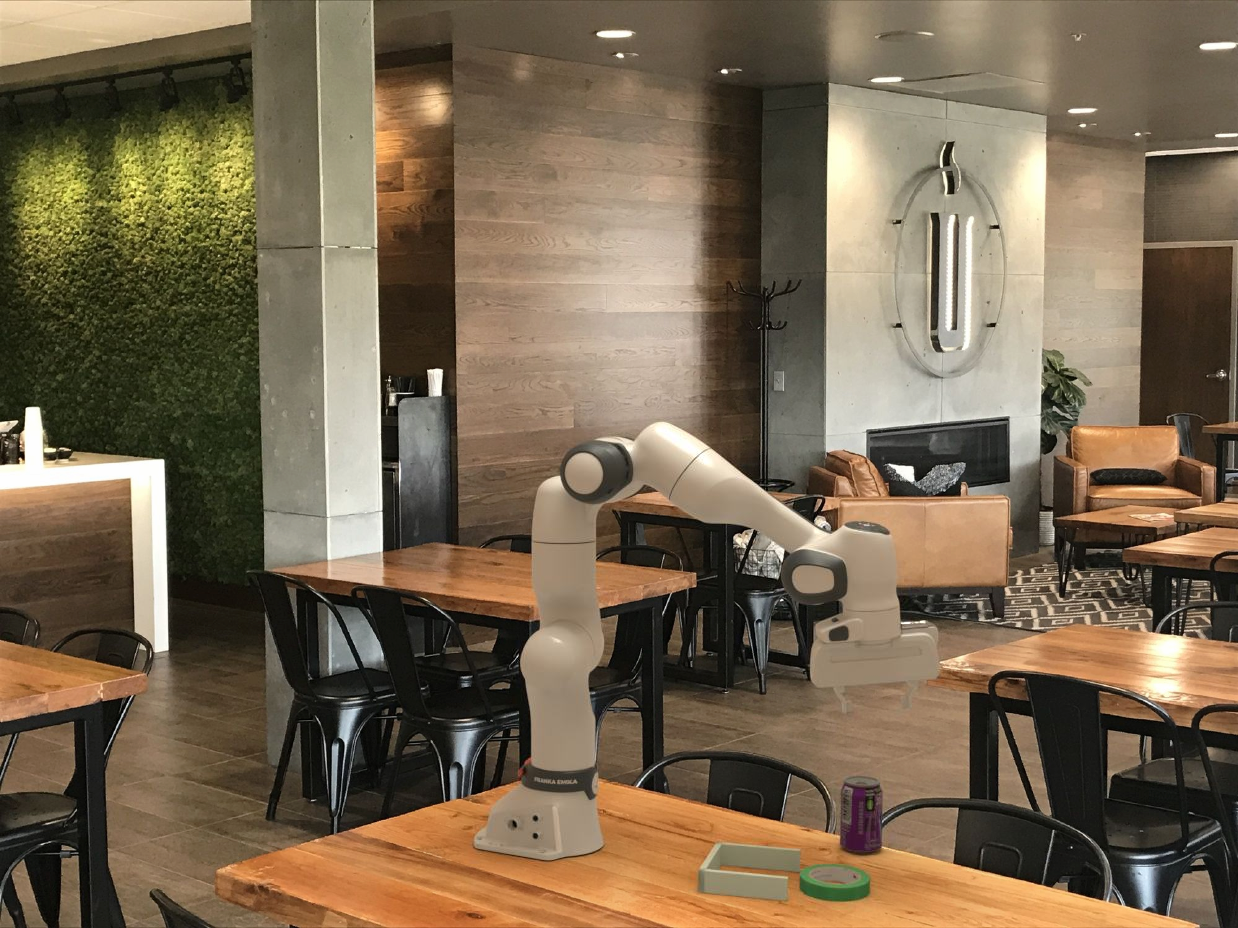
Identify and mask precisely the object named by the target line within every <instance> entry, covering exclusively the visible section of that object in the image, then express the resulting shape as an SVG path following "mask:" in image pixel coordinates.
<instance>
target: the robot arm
mask: <svg viewBox="0 0 1238 928" xmlns="http://www.w3.org/2000/svg"><path fill="white" fill-rule="evenodd" d="M559 469H560V470H559V475H555V476H552V477H550V478H548V479H545V480H544V481H543V482H542V483H541V484H540V485H539V487H538V489H537V490H536V496H535V501H534V508H533V515H532V525H531V587H532V590H533V593H534V594H535V599H536V604H537V610H538V615H539V630H537V631H535V632H534V633H533V634H532V635H531V636H529V638H528V640H527V641H526V643H525V644H524V647H523V650H522V652H521V654H520V661H519V663H520V664H519V665H520V671H521V674H522V676H523V678H524V680H525V688H526V693H527V699H528V706H529V711H530V724H531V725H530V727H531V728H530V729H531V730H530V731H531V735H530V736H531V743H530V744H531V745H530V746H531V748H530V750H531V753H530V754H531V755H530V757H529V758H528V759H526V760H525V761H524V764H523V765H522V766H521V767H520V769H519V770H518V771H517V772H518V774H517V775H518V776H517V777H518V778H520V781H521V782H520V783H519V784H518V785H516V786H515V787H514V788H512V789H511V790H509V791H508V792H507V793H506V794H504V795H503V796H502V797H501V798H500V799H498V800H497V801H496V802H494V803H493V805H492V807H491V809H490V811H489V814H488V818H487V823H486V826H485V827H483V828H481V829H480V830H479V831H478V832H477V833H476V834H475V835H474V837H473V847H474V848H475V849H478V850H483V851H489V852H495V853H500V854H506V855H514V856H518V857H519V856H520V857H526V858H531V859H535V860H543V861H553V860H557V859H558V860H559V859H562V858H565V857H567V858H568V857H574V856H575V857H576V856H580V855H581V856H582V855H586V854H590V853H594V852H596V851H598V850H599V849H601V848H602V847H603V846H604V845H605V840H604V837H603V835H602V834H603V833H602V830H601V826H600V819H599V813H598V803H597V796H598V792H599V772H598V771H599V769H598V762H596V716H595V713H594V712H593V707H592V702H591V696H590V688H589V677H590V674H591V672H592V671H594V669H596V668H597V666H598V665H599V664H600V661H601V659H602V657H603V654H604V649H605V637H604V633H603V629H602V618H601V610H600V605H599V599H598V591H597V516H598V513H599V511H600V509H601V507H602V506H604V505H605V504H608V505H610V504H612V503H618V502H620V501H623V500H626V499H631V498H632V497H634V496H637V495H639V494H640V493H641V492H643V490H645V489H646V488H647V487H651V488H652V489H654V490H656V491H657V492H658V493H659V494H661V495H662V496H663V497H664V498H666V499H667V500H668V501H669V502H671V503H672V504H673V505H674V506H675V507H677V508H678V509H680V510H681V511H682V512H683V513H685V514H687V515H689V516H691V517H692V518H694V519H695V520H698V521H701V522H703V523H706V524H730V525H736V526H743V527H747V528H750V529H753V530H755V531H756V532H758V533H760V534H761V535H763V536H764V537H766V538H767V539H769V540H770V541H772V542H773V543H775V544H776V545H778V546H779V547H780V548H782V549H783V550H784V551H786V552H787V553H789V555H788V556H787V557H786V558H784V559H785V560H784V561H783V563H782V566H781V570H780V577H781V583H782V586H783V588H784V590H785V592H786V593H787V595H788V596H789V597H790V598H791V599H792V600H793V601H794V602H797V603H799V604H802V605H805V606H806V605H808V606H817V605H822V604H826V603H831V602H835V601H840V602H841V603H842V612H841V613H838V614H836V615H833V616H831V617H828V618H826V619H824V620H821V621H819V622H817V623H816V624H815V625H814V626H815V634H816V637H817V638H816V639H815V640H814V642H813V643H812V646H811V649H810V661H809V671H810V672H809V674H810V675H809V676H810V677H809V678H810V681H811V683H812V684H813V685H814V686H815V687H817V689H824V688H833V692H834V693H835V695H836V696H837V698H838V699H839V701H840V702H841V712H842V714H853V712H854V711H853V707H854V706H853V701H852V700H851V699H846V698H845V697H844V695H843V694H844V693H845V687H849V686H850V687H852V686H862V685H873V684H875V685H878V684H888V683H889V684H890V683H902V682H906V684H907V686H908V689H907V691H906V693H905V695H900V696H899V697H900V699H899V700H900V701H901V702H900V707H901V708H902V709H903V710H908V709H909V710H910V709H912V708H913V698H914V696H915V694H916V692H917V691H918V689H919V681H926V680H936V679H937V678H938V677H939V675H940V674H941V666H940V659H939V653H938V650H937V646H938V644H939V641H940V638H939V637H940V636H939V629H938V627H937V625H936V624H935V623H932V622H929V621H928V620H926V619H925V620H923V619H921V620H919V621H901V611H900V609H901V607H900V600H899V598H898V594H897V584H898V580H899V574H898V573H899V572H898V560H897V554H896V553H897V552H896V548H895V547H896V546H895V543H894V538H893V536H892V534H891V533H892V532H891V531H890V530H889V529H888V528H886V527H885V526H884V525H881V524H879V523H875V522H871V521H864V520H863V521H858V520H854V521H848V522H845V523H844V524H842V525H841V526H840V527H839V528H838V529H837V530H835V531H833V530H830V529H825V528H823V527H821V526H818V525H817V524H815V523H814V522H812V521H811V520H810V519H809V518H806V517H805V516H803V515H802V514H800V513H799V512H797V510H795V509H793V508H792V507H790V506H789V505H788V504H786V503H785V502H783V501H781V500H780V499H779V498H777V497H776V496H775V495H772V494H771V493H770V492H768V491H767V490H765V489H764V488H762V487H761V486H759V485H758V484H757V483H756V482H754V481H753V480H752V479H750V478H749V477H747V476H746V475H745V474H743V473H742V472H741V471H740V470H739V469H737V468H736V467H735V466H734V465H732V464H731V463H730V462H729V461H727V460H726V459H725V458H724V457H722V456H721V454H719V453H717V452H716V451H715V450H714V449H712V448H711V447H710V446H709V445H707V444H706V443H705V442H703V441H701V440H700V439H698V438H697V437H696V436H694V435H692V434H691V433H689V432H687V431H685V430H684V429H681V428H679V427H678V426H675V425H673V424H671V422H670V423H669V422H666V421H659V422H658V421H657V422H654V423H652V424H650V425H648V426H647V427H645V428H644V429H643V430H642V431H641V432H640V433H639V434H638V436H637V437H636V438H632V437H628V436H611V435H610V436H602V437H599V438H596V439H589V440H584V441H581V442H579V443H577V444H576V445H574V446H573V447H571V448H570V449H569V450H568V451H567V452H566V454H565V455H564V456H563V458H562V461H561V462H560V468H559Z"/></svg>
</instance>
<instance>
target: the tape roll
mask: <svg viewBox="0 0 1238 928" xmlns="http://www.w3.org/2000/svg"><path fill="white" fill-rule="evenodd" d="M831 882H837V883H831ZM799 891H801V893H802V892H803V893H802V894H803V895H806V896H808V897H810V898H812V897H813V899H816V900H820V901H827V902H835V903H836V902H838V903H840V902H841V903H842V902H844V903H845V902H853V901H854V902H855V901H860V900H862V899H864V898H866V897H868V896H869V895H870V893H871V877H870V874H869V873H868V872H866V871H865V870H863V869H861V868H858V867H855V866H852V865H846V864H841V863H840V864H839V863H820V864H819V863H818V864H813V865H809V866H805V867H804V868H802V869H800V872H799Z"/></svg>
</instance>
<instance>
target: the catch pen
mask: <svg viewBox="0 0 1238 928" xmlns="http://www.w3.org/2000/svg"><path fill="white" fill-rule="evenodd" d="M801 852H802V850H801V848H790V847H780V846H768V845H767V846H765V845H756V844H744V843H736V842H734V843H733V842H723V841H716V842H715V844H714V846H713V847H712V849H711V850H710V852H708V855H707V856H706V858H705V859H704V861H703V862H702V864H701V865H700V867H699V869H698V871H697V873H698V875H697V877H698V878H697V879H698V880H697V883H698V884H697V892H698V893H702V894H710V895H723V896H731V897H732V896H733V897H742V898H753V899H760V900H761V899H762V900H764V899H765V900H771V901H780V902H781V901H782V902H787V901H788V899H789V897H788V896H789V877H788V876H782V875H773V874H764V873H751V872H742V871H732V870H720V868H721V866H729V867H741V868H750V869H751V868H752V869H761V870H762V869H763V870H771V871H772V870H774V871H781V872H783V871H784V872H791V873H792V872H794V873H800V872H801V857H802V855H801Z"/></svg>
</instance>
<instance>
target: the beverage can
mask: <svg viewBox="0 0 1238 928" xmlns="http://www.w3.org/2000/svg"><path fill="white" fill-rule="evenodd" d="M883 795H884V793H883V789H882V788H881V781H880V779H878V778H877V777H872V776H868V775H867V776H866V775H852V776H851V775H850V776H847V777H844V778H843V785H842V786H841V789H840V818H839V819H840V822H839V823H840V827H839V830H840V831H839V845H840V846H841V847H842V848H844V850H845V849H846V850H847V851H849V852H850V853H854V854H862V855H863V854H864V855H865V854H872V853H875V852H876V851H878V850H881V848H882V846H883V799H884V798H883Z"/></svg>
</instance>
